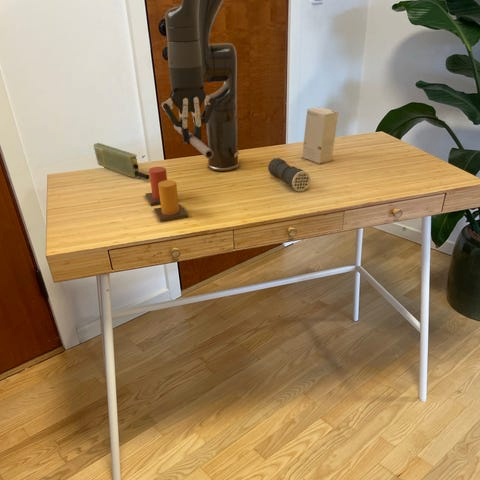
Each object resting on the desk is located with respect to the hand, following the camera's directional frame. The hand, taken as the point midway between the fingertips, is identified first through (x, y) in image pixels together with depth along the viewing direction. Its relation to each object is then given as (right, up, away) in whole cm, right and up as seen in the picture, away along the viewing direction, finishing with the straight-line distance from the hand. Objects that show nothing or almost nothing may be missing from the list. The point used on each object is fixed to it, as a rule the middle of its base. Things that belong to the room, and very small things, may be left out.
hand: (192, 142), depth 114 cm
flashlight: (+26, -5, +18) cm, 32 cm away
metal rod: (0, 0, 0) cm, 0 cm away
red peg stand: (-9, -11, +10) cm, 18 cm away
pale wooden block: (+37, +7, +34) cm, 51 cm away
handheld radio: (-24, +1, +28) cm, 37 cm away
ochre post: (-6, -17, +2) cm, 18 cm away
